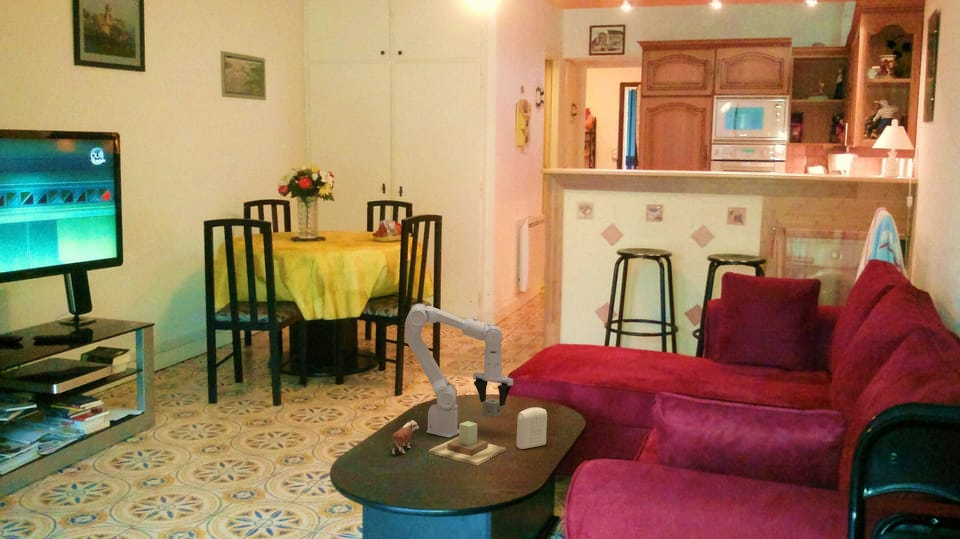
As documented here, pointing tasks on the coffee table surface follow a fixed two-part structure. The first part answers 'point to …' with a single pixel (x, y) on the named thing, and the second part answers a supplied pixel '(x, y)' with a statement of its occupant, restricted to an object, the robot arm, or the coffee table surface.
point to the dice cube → (492, 407)
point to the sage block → (468, 433)
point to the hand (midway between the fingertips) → (492, 403)
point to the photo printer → (531, 428)
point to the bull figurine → (404, 436)
